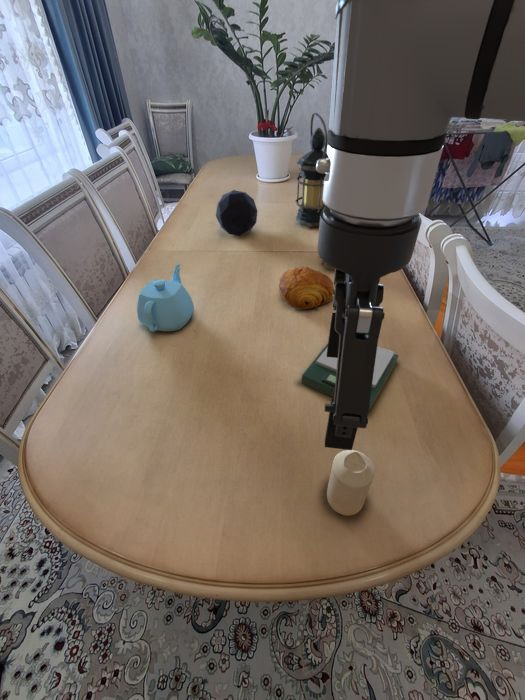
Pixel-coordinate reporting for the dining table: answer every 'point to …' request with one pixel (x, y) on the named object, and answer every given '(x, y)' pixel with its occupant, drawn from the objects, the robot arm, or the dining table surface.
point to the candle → (349, 482)
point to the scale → (325, 368)
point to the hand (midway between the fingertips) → (337, 395)
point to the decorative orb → (236, 212)
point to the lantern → (312, 179)
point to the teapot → (165, 304)
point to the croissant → (305, 287)
